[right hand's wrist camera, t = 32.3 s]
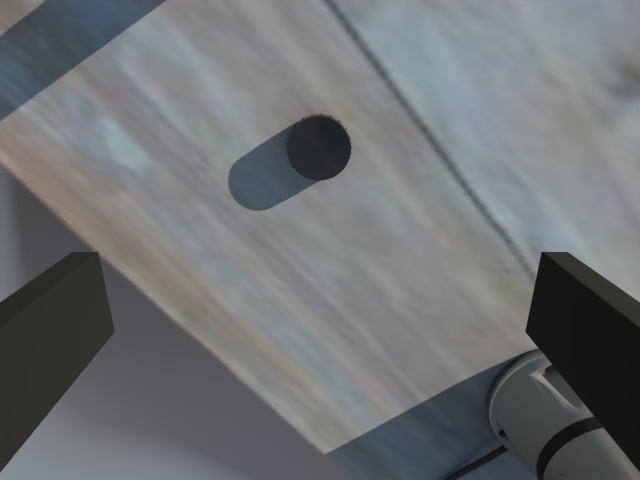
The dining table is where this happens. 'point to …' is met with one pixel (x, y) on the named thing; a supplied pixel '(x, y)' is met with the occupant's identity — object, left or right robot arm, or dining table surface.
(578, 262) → the right robot arm
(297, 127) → the lid
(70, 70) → the dining table surface
